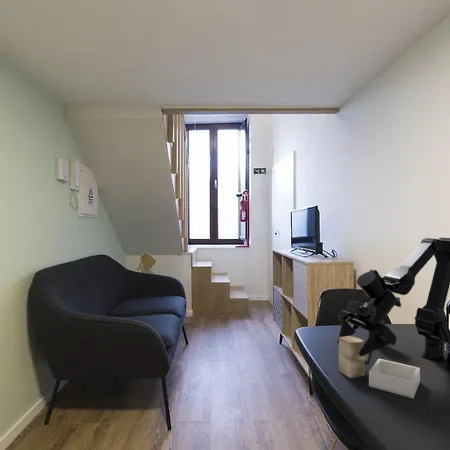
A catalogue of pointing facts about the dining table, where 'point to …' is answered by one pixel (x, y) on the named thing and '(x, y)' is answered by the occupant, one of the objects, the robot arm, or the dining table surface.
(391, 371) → the box
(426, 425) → the dining table surface
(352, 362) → the wood block
